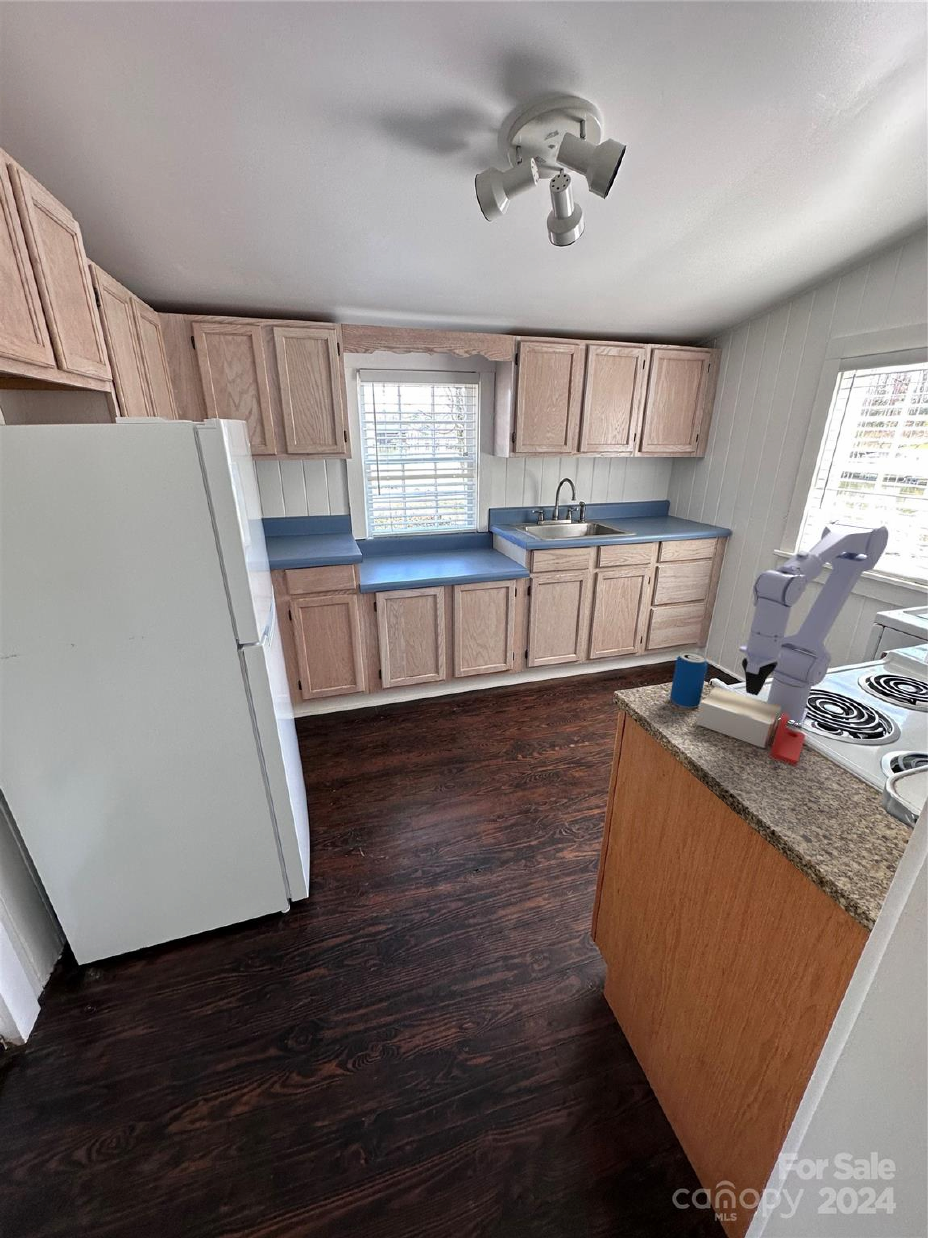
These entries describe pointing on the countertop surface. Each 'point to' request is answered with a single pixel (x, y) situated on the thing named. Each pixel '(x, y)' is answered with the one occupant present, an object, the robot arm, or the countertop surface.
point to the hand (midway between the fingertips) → (752, 693)
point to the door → (733, 723)
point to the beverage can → (688, 679)
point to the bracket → (787, 743)
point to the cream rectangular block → (746, 707)
